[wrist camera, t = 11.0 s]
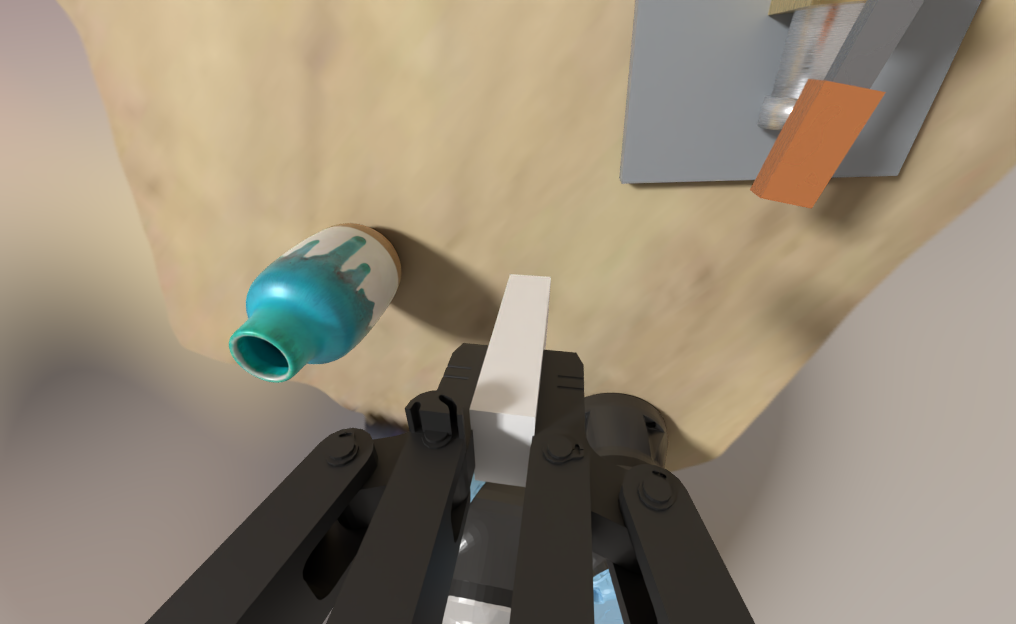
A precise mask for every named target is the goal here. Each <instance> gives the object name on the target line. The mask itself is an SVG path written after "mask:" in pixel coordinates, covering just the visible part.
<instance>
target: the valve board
mask: <svg viewBox="0 0 1016 624" xmlns="http://www.w3.org/2000/svg"><path fill="white" fill-rule="evenodd" d="M981 1H982V0H924V2H923V4H922V5H921V7H920V9H919V10H918V12H917V13H916V15H915V17H914V18H913V20H912V22H911V23H910V25H909V26H908V28H907V30H906V31H905V33H904V35H903V36H902V38H901V39H900V41H899V43H898V44H897V46H896V48H895V49H894V51H893V52H892V54H891V56H890V57H889V59H888V61H887V62H886V64H885V65H884V67H883V69H882V70H881V72H880V74H879V75H878V77H877V78H876V80H875V82H874V83H873V85H872V87H871V88H870V89H872V90H877V91H882V92H886V93H885V94H884V96H883V98H882V99H881V101H880V102H879V104H878V105H877V107H876V109H875V110H874V112H873V113H872V115H871V116H870V118H869V119H868V121H867V123H866V124H865V126H864V127H863V129H862V130H861V132H860V134H859V135H858V137H857V138H856V140H855V141H854V143H853V145H852V146H851V148H850V149H849V151H848V152H847V154H846V155H845V157H844V159H843V160H842V162H841V163H840V165H839V166H838V168H837V170H836V171H835V173H834V174H833V176H832V177H831V178H834V177H870V176H898V174H899V172H900V169H901V167H902V165H903V163H904V161H905V159H906V157H907V155H908V153H909V151H910V149H911V147H912V144H913V142H914V140H915V138H916V136H917V134H918V132H919V130H920V128H921V126H922V124H923V121H924V119H925V117H926V115H927V113H928V111H929V109H930V107H931V105H932V103H933V101H934V99H935V96H936V94H937V92H938V90H939V88H940V86H941V84H942V82H943V80H944V78H945V76H946V74H947V71H948V69H949V67H950V65H951V63H952V61H953V59H954V57H955V55H956V53H957V51H958V49H959V46H960V44H961V42H962V40H963V38H964V36H965V34H966V32H967V30H968V28H969V26H970V23H971V21H972V19H973V17H974V15H975V13H976V11H977V9H978V7H979V5H980V3H981ZM770 4H771V0H636V1H635V12H634V23H633V34H632V45H631V56H630V67H629V78H628V89H627V100H626V111H625V122H624V133H623V144H622V155H621V166H620V177H619V178H620V181H621V184H624V183H659V182H694V181H729V180H755V179H756V177H757V175H758V174H759V172H760V170H761V168H762V166H763V164H764V162H765V160H766V158H767V156H768V155H769V153H770V151H771V149H772V147H773V145H774V143H775V141H776V139H777V137H778V136H779V134H780V132H781V130H772V129H765V128H760V127H758V126H757V123H758V119H759V116H760V112H761V108H762V104H763V101H764V97H765V96H766V95H770V94H772V90H773V86H774V83H775V79H776V75H777V72H778V68H779V64H780V61H781V57H782V53H783V50H784V46H785V42H786V39H787V35H788V31H789V28H790V24H791V20H792V17H793V13H788V14H777V15H768V12H769V8H770Z"/></svg>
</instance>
